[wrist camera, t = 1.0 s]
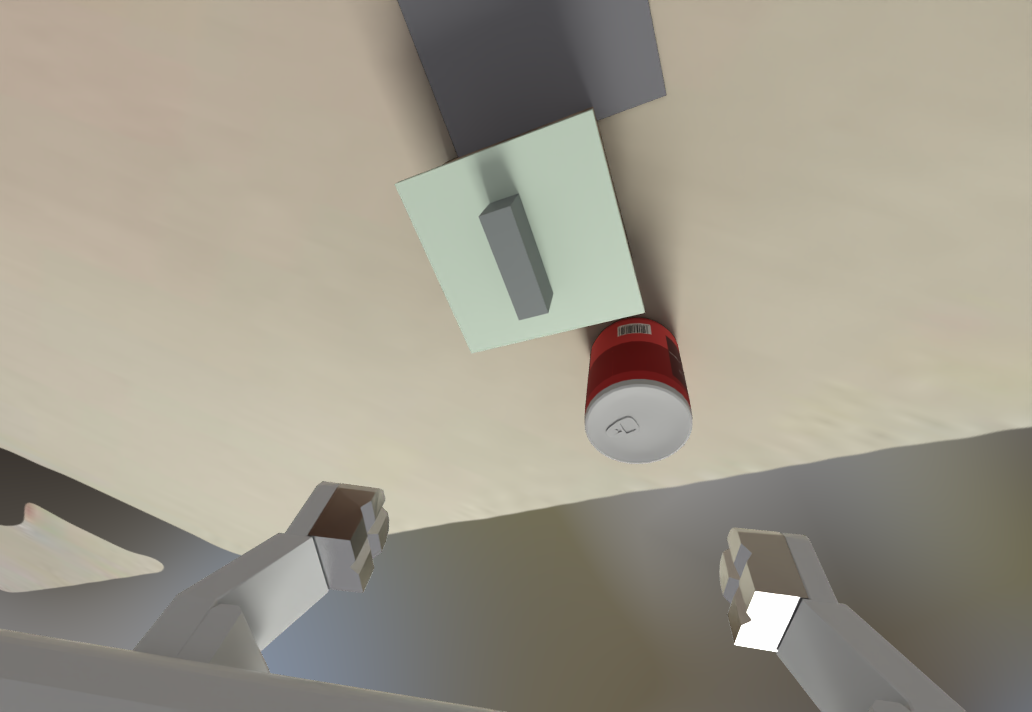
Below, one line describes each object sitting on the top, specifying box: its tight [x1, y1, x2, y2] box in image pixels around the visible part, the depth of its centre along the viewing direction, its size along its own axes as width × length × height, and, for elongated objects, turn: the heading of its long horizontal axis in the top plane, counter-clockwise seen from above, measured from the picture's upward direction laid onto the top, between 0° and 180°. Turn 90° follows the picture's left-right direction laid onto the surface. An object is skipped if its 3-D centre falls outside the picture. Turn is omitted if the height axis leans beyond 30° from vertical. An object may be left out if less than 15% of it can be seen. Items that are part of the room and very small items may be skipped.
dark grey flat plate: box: [398, 0, 666, 158], centre depth 34 cm, size 16×16×1 cm
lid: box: [395, 109, 645, 353], centre depth 32 cm, size 13×13×5 cm
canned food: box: [585, 318, 692, 464], centre depth 42 cm, size 8×8×11 cm
